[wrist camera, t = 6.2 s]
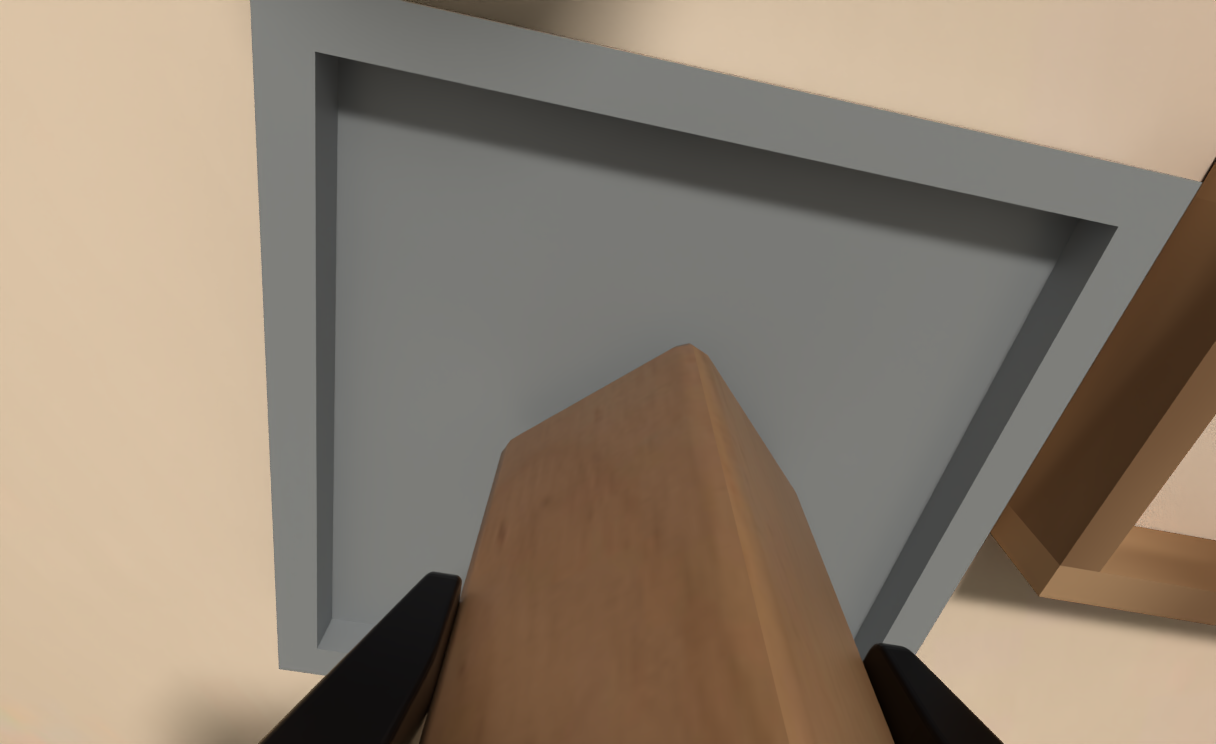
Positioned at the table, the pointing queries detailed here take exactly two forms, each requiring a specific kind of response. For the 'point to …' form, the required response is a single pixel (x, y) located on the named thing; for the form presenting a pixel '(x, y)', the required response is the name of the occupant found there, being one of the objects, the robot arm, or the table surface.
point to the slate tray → (651, 295)
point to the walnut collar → (1130, 448)
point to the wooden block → (649, 585)
